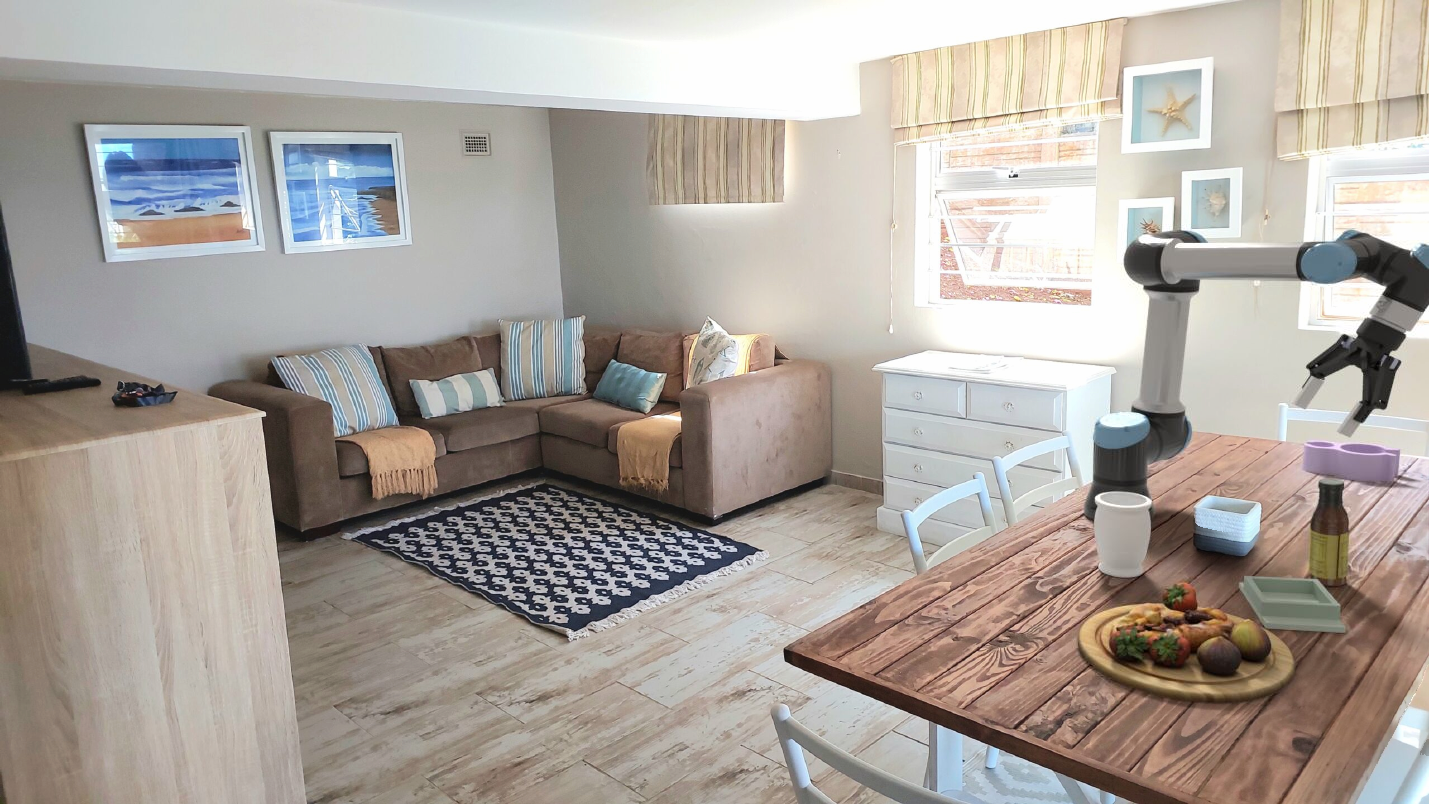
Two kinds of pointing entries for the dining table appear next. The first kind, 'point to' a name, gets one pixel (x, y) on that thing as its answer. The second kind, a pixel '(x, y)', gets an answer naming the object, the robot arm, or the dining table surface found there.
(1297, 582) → the stand
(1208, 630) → the wooden plate with food
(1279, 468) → the dining table surface
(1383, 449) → the purple holder
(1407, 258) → the robot arm
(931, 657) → the dining table surface
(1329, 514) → the sauce bottle
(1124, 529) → the jar
